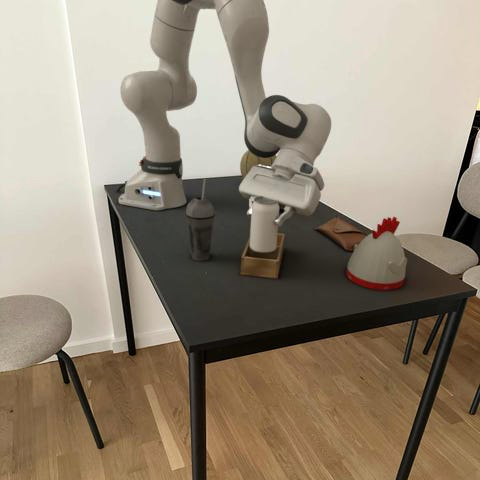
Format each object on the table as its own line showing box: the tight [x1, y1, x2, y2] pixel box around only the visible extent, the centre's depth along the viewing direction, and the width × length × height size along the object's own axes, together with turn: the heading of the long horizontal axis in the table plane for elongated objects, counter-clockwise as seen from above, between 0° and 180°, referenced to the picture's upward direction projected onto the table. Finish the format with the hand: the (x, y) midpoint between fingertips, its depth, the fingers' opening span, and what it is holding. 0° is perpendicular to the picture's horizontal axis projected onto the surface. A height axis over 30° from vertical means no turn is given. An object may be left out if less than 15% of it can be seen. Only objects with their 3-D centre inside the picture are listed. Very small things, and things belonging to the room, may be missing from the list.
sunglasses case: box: [315, 215, 369, 252], centre depth 132 cm, size 18×7×7 cm
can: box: [249, 196, 280, 253], centre depth 108 cm, size 6×6×12 cm
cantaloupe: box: [239, 149, 277, 179], centre depth 170 cm, size 15×15×15 cm
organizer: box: [240, 232, 286, 279], centre depth 116 cm, size 9×17×5 cm, turn 171°
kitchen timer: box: [345, 216, 408, 291], centre depth 109 cm, size 14×14×15 cm
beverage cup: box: [185, 178, 216, 262], centre depth 113 cm, size 7×7×20 cm
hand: (263, 220), depth 107 cm, fingers closed on can, 6 cm apart
